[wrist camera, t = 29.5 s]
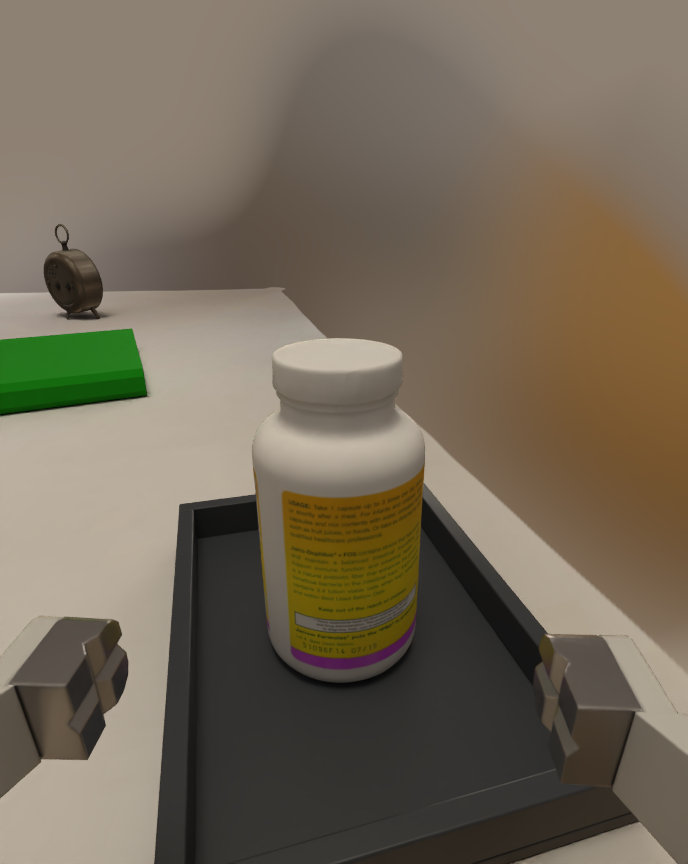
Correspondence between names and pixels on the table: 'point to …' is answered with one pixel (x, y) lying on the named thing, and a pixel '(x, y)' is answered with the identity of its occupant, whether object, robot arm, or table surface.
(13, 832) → the table surface
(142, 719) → the table surface
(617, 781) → the robot arm
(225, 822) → the tray
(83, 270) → the alarm clock
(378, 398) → the supplement bottle
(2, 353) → the book
